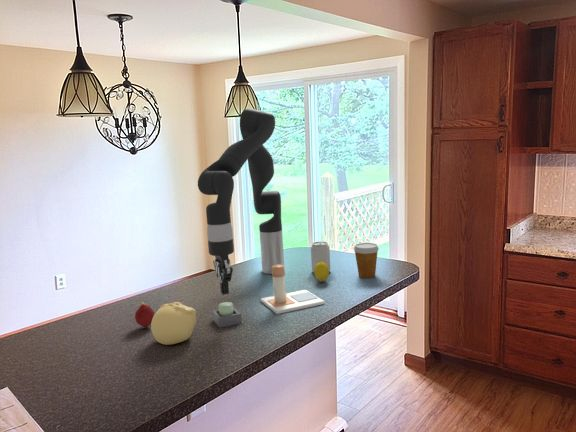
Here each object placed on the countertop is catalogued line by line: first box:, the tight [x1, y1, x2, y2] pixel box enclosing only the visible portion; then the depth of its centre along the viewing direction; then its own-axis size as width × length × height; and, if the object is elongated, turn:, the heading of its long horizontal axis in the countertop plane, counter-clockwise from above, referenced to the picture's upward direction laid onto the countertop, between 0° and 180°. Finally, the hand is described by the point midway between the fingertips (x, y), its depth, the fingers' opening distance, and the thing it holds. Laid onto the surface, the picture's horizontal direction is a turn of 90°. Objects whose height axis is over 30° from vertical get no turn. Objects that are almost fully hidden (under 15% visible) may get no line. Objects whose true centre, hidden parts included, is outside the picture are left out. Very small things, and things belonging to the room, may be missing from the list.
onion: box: [134, 302, 156, 328], centre depth 148 cm, size 6×6×8 cm
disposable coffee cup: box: [353, 242, 380, 279], centre depth 187 cm, size 10×10×12 cm
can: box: [310, 241, 331, 273], centre depth 196 cm, size 8×8×12 cm
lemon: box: [313, 261, 330, 283], centre depth 183 cm, size 6×6×8 cm
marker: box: [271, 264, 287, 303], centre depth 160 cm, size 4×4×12 cm
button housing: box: [211, 306, 242, 329], centre depth 150 cm, size 7×7×3 cm
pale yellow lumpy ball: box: [150, 301, 197, 346], centre depth 138 cm, size 11×12×11 cm
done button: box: [218, 301, 234, 317], centre depth 149 cm, size 4×4×4 cm
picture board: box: [260, 289, 325, 315], centre depth 163 cm, size 14×17×1 cm
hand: (224, 293), depth 148 cm, fingers closed
